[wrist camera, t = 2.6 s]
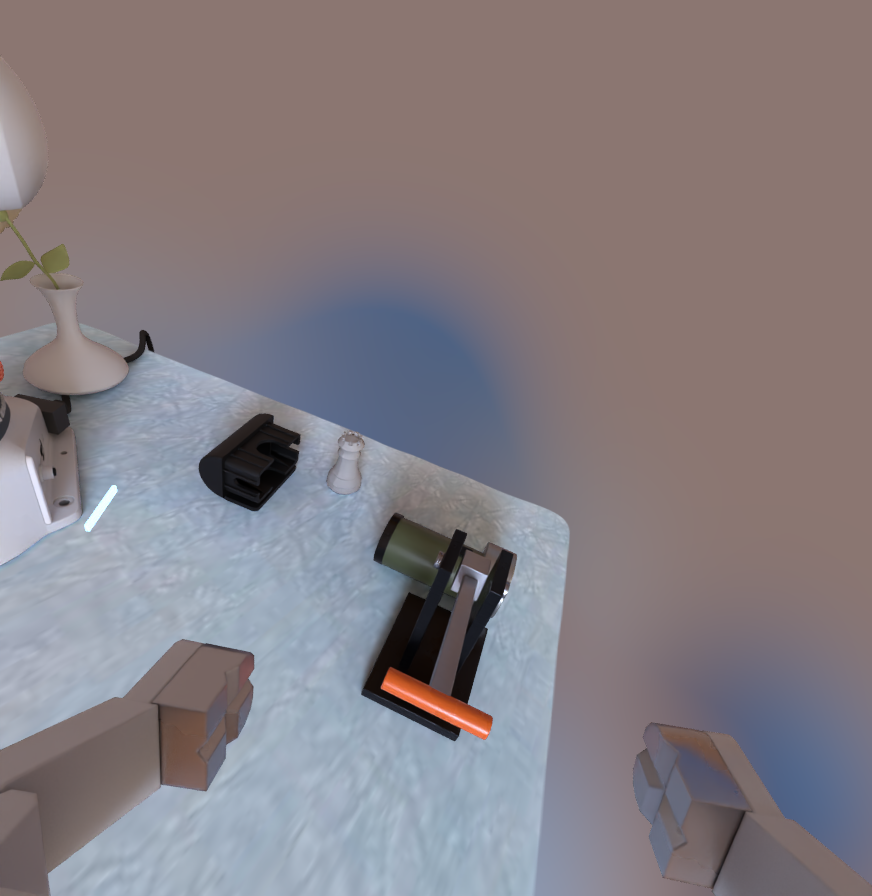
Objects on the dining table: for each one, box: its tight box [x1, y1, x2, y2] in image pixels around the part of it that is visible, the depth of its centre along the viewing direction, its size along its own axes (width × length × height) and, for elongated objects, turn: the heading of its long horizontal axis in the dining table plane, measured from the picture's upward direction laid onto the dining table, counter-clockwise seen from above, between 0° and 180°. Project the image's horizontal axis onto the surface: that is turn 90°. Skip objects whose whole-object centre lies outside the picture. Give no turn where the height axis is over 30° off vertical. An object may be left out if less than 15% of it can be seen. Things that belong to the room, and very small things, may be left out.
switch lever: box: [381, 549, 493, 740], centre depth 30 cm, size 16×6×2 cm, turn 161°
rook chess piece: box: [327, 431, 365, 495], centre depth 58 cm, size 4×4×8 cm
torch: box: [374, 513, 517, 618], centre depth 50 cm, size 14×7×7 cm, turn 72°
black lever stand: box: [361, 529, 514, 741], centre depth 40 cm, size 11×9×16 cm
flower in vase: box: [0, 208, 129, 395], centre depth 55 cm, size 13×11×25 cm
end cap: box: [199, 414, 300, 511], centre depth 55 cm, size 10×7×7 cm
